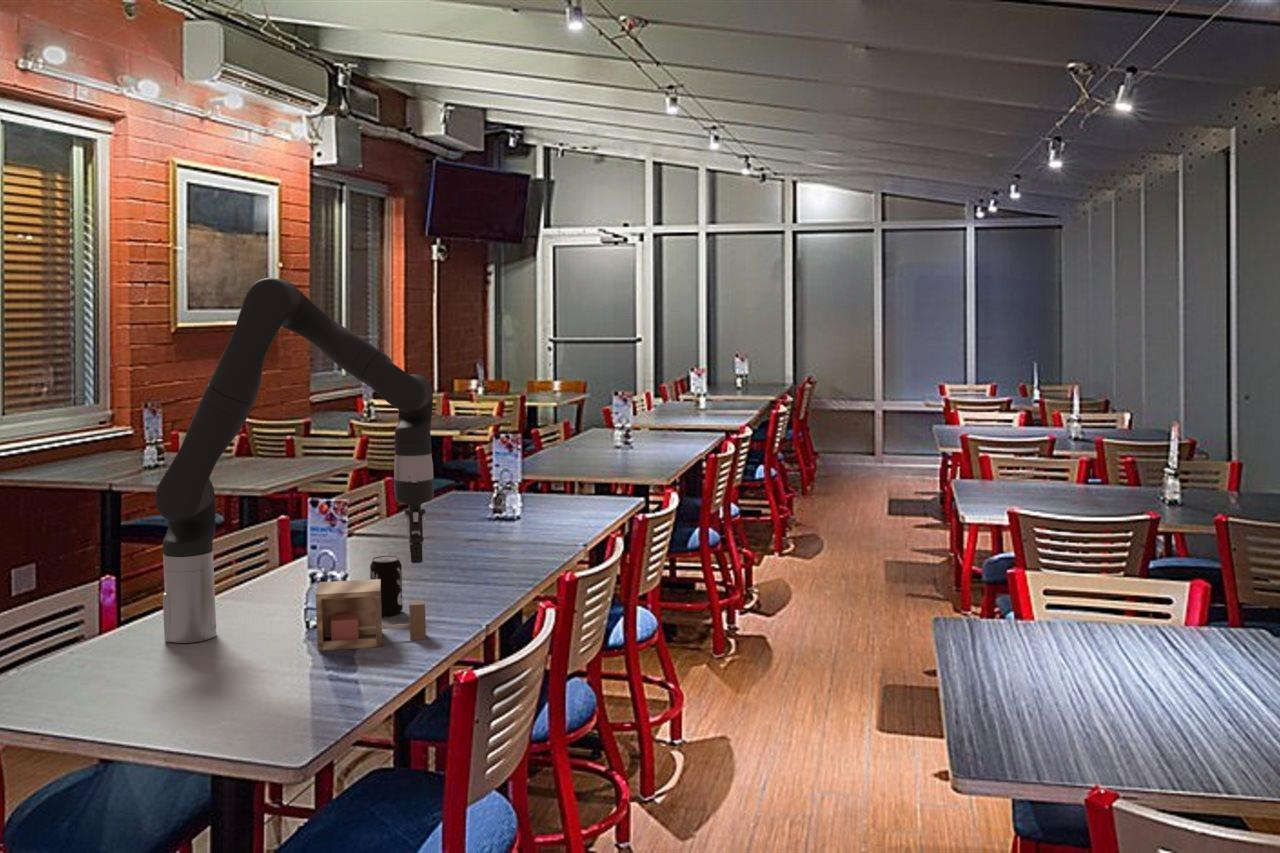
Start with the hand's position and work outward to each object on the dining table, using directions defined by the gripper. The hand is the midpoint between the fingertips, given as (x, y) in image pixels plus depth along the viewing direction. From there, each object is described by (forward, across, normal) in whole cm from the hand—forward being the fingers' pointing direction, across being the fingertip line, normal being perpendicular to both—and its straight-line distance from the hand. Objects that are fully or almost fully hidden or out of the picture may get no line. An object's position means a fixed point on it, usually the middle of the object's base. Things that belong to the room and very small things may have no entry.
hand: (416, 558), depth 230 cm
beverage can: (+16, -20, -6) cm, 26 cm away
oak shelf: (+16, 0, -13) cm, 21 cm away
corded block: (+16, 0, -8) cm, 18 cm away
